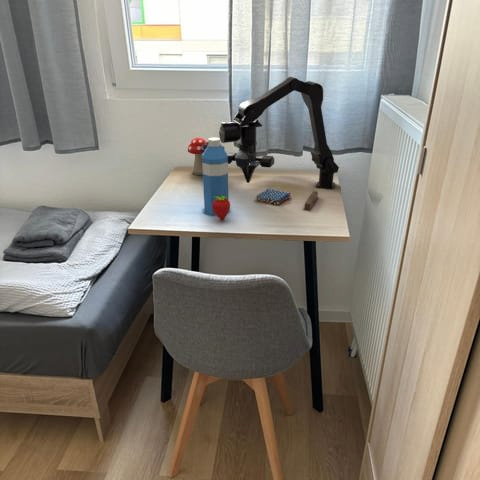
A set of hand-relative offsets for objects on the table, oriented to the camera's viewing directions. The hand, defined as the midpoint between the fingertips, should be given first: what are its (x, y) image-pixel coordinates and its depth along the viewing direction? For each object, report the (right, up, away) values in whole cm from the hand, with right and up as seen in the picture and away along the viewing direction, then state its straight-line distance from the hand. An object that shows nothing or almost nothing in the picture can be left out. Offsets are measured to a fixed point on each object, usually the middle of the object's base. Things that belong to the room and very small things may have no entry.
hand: (248, 182), depth 185 cm
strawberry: (-10, -18, -17) cm, 27 cm away
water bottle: (-12, -13, -9) cm, 20 cm away
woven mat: (+9, -6, 0) cm, 11 cm away
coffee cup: (-14, +6, +20) cm, 25 cm away
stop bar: (+23, -9, -4) cm, 25 cm away
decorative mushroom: (-21, +12, +28) cm, 36 cm away
